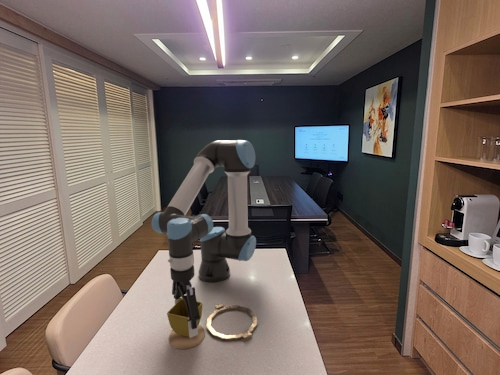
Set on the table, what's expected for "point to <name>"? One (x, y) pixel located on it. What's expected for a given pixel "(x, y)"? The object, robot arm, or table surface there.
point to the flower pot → (181, 317)
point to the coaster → (186, 339)
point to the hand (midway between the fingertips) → (186, 325)
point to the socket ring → (244, 335)
